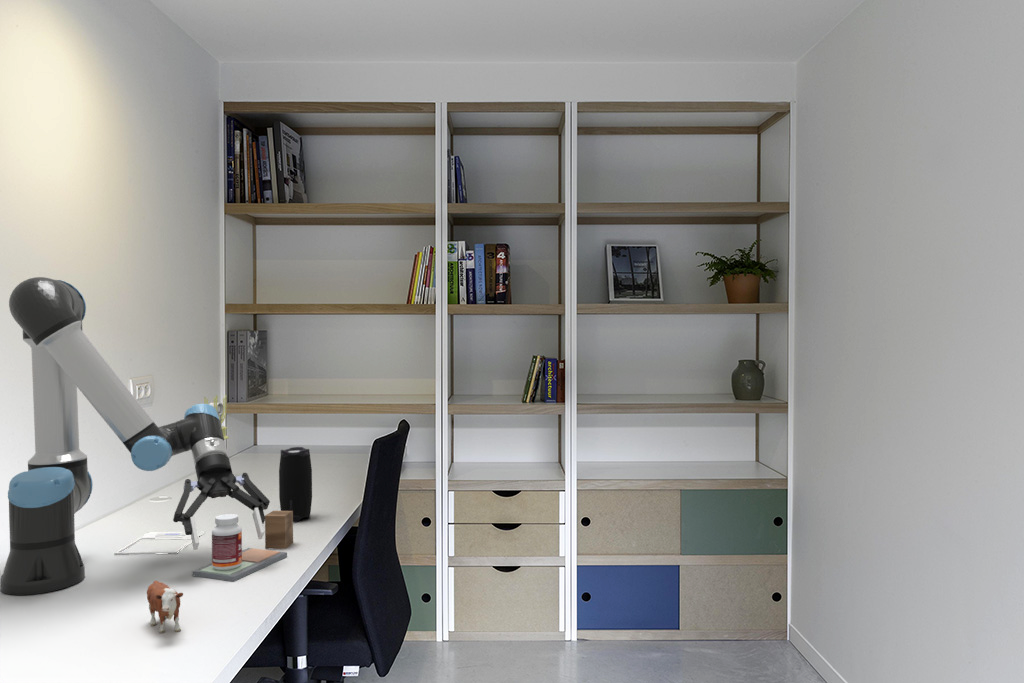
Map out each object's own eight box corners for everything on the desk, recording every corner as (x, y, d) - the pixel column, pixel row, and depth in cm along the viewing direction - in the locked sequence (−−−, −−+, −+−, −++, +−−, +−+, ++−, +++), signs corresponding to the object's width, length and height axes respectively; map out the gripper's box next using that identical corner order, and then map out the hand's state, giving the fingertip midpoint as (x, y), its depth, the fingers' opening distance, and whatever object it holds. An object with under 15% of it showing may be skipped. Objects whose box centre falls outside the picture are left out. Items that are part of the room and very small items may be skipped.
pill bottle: (245, 567, 165) (244, 517, 164) (215, 572, 161) (215, 521, 161) (238, 560, 170) (237, 511, 169) (209, 565, 166) (208, 515, 166)
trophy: (220, 484, 258) (219, 396, 258) (200, 483, 260) (198, 396, 259) (233, 479, 267) (231, 394, 266) (213, 478, 268) (211, 394, 267)
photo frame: (205, 530, 197) (176, 551, 179) (205, 535, 197) (177, 555, 179) (148, 531, 196) (114, 552, 178) (148, 535, 196) (114, 556, 178)
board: (233, 581, 159) (233, 575, 159) (192, 575, 163) (192, 570, 163) (287, 556, 176) (286, 551, 176) (248, 552, 180) (248, 547, 180)
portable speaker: (292, 513, 217) (292, 445, 216) (319, 516, 213) (318, 447, 213) (272, 520, 209) (271, 450, 209) (299, 524, 205) (298, 452, 205)
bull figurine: (160, 644, 128) (159, 596, 128) (144, 619, 139) (144, 575, 139) (187, 637, 131) (186, 590, 131) (170, 613, 142) (169, 570, 141)
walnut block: (285, 548, 183) (284, 516, 182) (265, 548, 183) (264, 515, 183) (293, 542, 188) (292, 510, 187) (273, 542, 188) (273, 510, 188)
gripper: (155, 457, 166) (169, 541, 154) (269, 446, 180) (290, 522, 168) (151, 477, 171) (165, 560, 159) (262, 465, 185) (283, 540, 173)
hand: (229, 541), depth 163 cm, fingers open, 13 cm apart
